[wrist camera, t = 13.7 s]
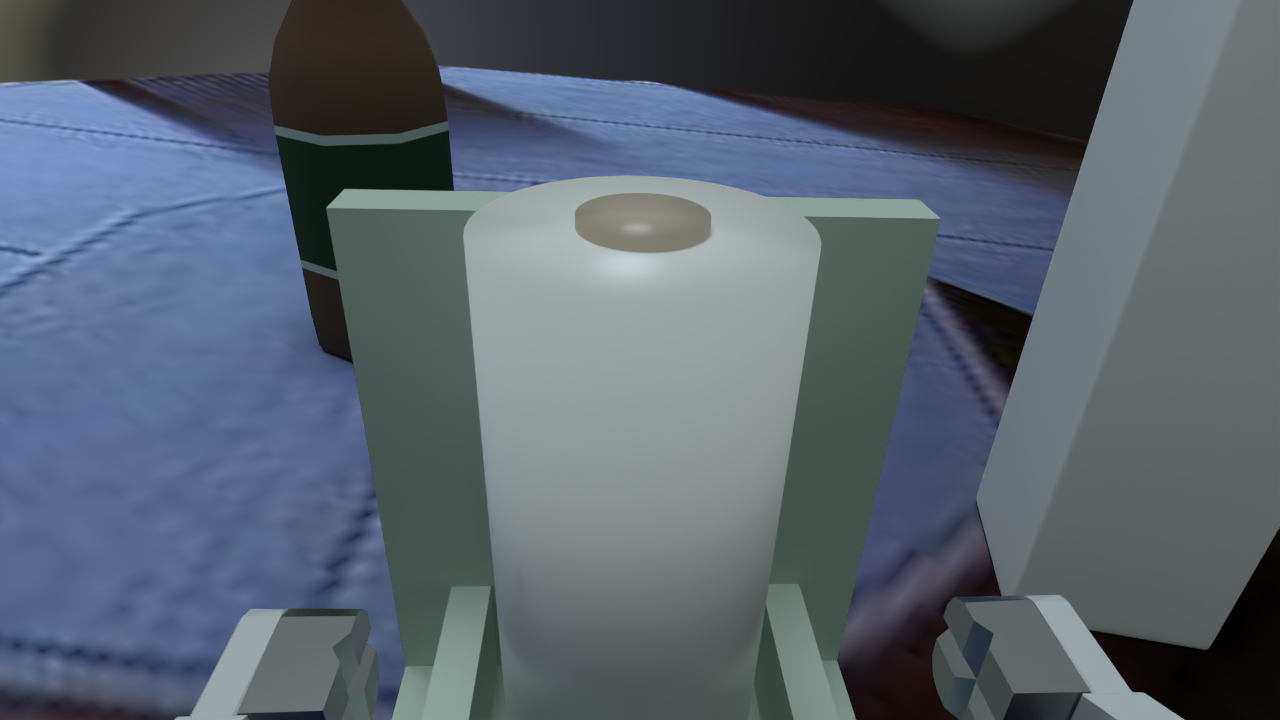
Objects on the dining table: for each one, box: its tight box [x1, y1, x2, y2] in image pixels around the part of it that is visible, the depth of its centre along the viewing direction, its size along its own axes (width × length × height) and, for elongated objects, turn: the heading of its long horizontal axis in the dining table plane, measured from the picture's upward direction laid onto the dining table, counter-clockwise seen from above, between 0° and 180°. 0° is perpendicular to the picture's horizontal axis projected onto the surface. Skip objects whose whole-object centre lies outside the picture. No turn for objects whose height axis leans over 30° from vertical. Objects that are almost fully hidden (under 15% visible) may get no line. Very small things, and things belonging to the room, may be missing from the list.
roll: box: [463, 176, 821, 720], centre depth 15 cm, size 5×5×14 cm
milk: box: [976, 0, 1280, 650], centre depth 21 cm, size 6×6×22 cm
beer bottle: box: [269, 0, 454, 361], centre depth 34 cm, size 8×8×24 cm
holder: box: [326, 189, 940, 720], centre depth 15 cm, size 12×12×14 cm
